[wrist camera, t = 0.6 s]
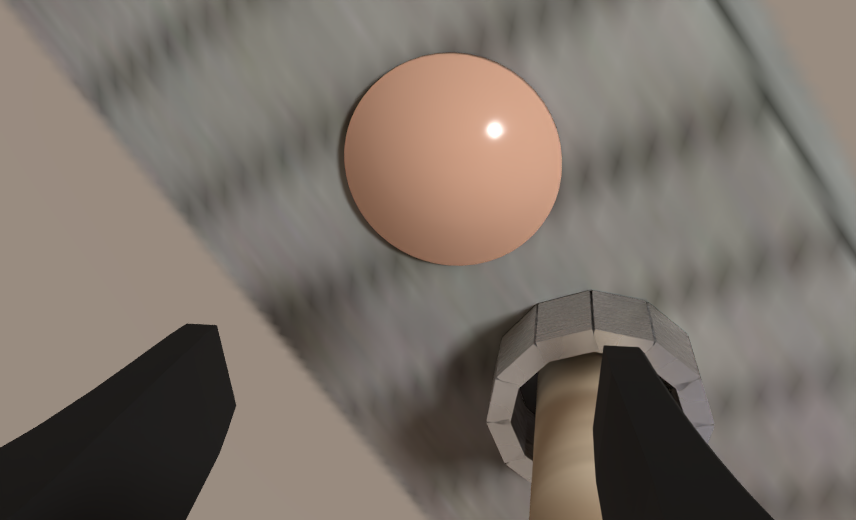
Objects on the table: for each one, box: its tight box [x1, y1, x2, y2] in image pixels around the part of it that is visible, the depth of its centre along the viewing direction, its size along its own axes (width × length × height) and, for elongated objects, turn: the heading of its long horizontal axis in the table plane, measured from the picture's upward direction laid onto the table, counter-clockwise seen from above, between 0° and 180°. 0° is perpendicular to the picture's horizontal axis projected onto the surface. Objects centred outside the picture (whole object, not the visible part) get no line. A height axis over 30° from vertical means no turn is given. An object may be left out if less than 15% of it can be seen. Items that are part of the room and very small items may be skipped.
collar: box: [487, 290, 714, 483], centre depth 23 cm, size 7×7×2 cm
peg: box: [529, 352, 603, 520], centre depth 22 cm, size 4×4×7 cm
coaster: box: [344, 52, 562, 266], centre depth 22 cm, size 7×7×1 cm
